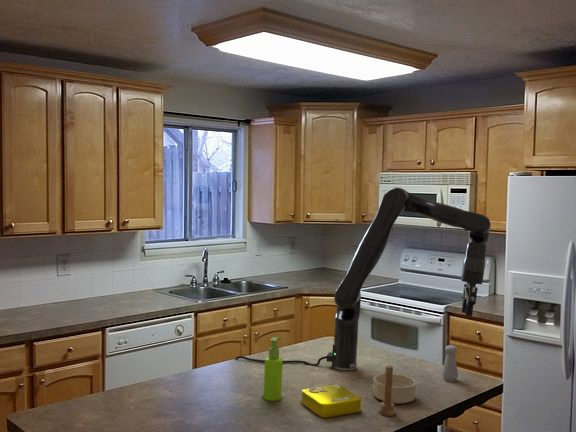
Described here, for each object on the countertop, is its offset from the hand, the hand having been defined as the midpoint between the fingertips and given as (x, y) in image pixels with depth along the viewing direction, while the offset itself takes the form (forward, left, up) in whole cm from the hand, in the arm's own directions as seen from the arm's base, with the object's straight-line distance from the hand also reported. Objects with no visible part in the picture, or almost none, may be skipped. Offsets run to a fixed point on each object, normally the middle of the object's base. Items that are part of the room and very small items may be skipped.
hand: (466, 314), depth 211 cm
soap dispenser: (-62, -32, -27) cm, 75 cm away
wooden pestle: (-24, -33, -27) cm, 49 cm away
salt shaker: (-4, +8, -27) cm, 29 cm away
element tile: (-42, -34, -27) cm, 61 cm away
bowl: (-23, -18, -27) cm, 40 cm away
